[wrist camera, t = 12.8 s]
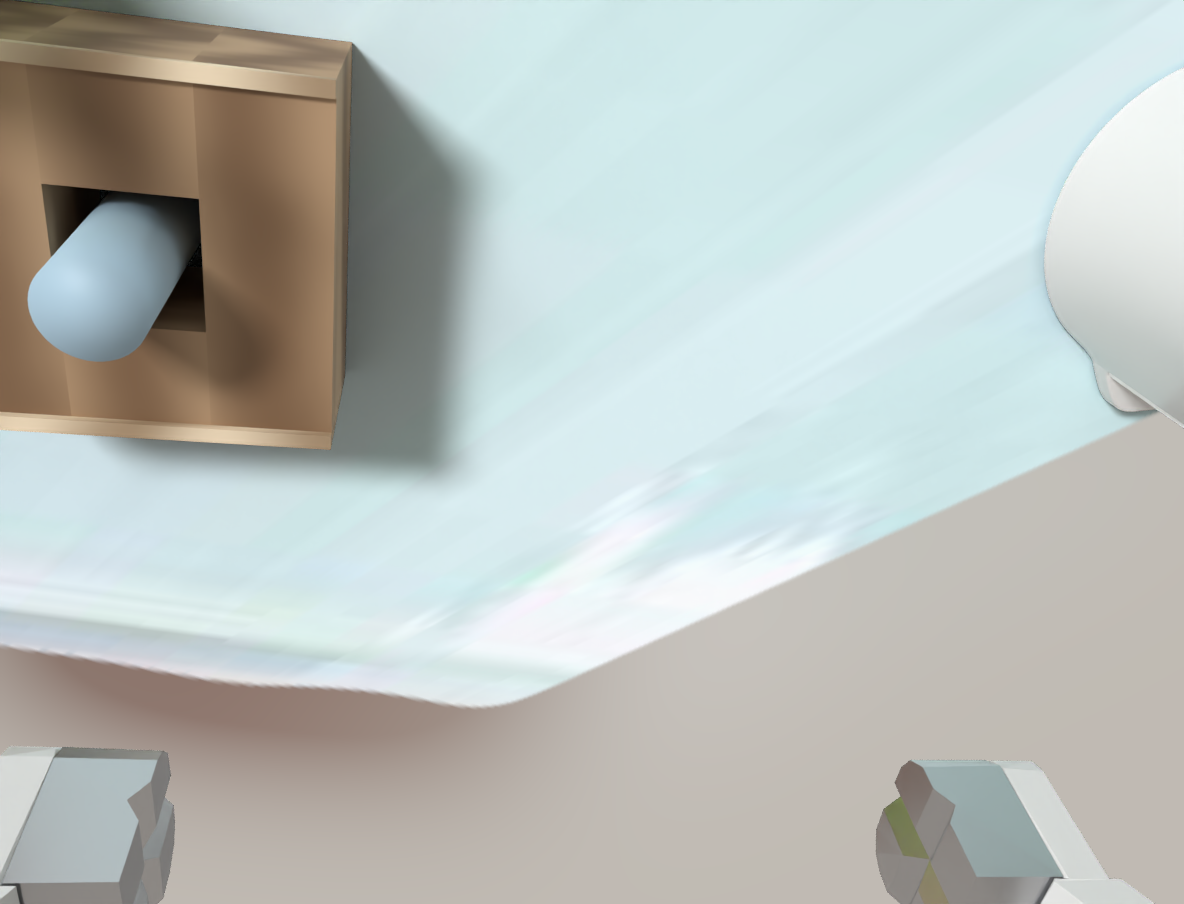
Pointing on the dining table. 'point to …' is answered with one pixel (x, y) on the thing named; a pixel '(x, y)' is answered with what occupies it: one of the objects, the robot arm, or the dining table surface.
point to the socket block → (227, 220)
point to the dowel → (114, 274)
